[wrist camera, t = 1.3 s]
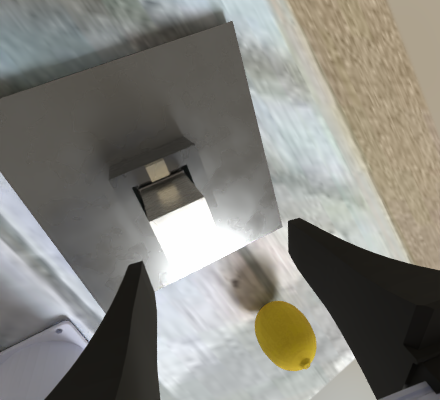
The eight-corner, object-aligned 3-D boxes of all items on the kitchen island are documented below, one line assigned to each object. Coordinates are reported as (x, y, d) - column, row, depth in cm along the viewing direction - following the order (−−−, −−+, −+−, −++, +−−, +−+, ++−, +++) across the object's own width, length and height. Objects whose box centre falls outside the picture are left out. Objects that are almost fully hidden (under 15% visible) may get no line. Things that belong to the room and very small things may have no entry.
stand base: (107, 307, 25) (106, 355, 20) (-36, 111, 17) (-89, 119, 12) (277, 222, 28) (308, 247, 24) (227, 23, 20) (259, 5, 16)
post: (152, 211, 22) (171, 268, 15) (135, 176, 20) (147, 221, 13) (188, 194, 22) (223, 243, 15) (174, 159, 21) (205, 195, 14)
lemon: (239, 328, 32) (274, 395, 25) (248, 288, 30) (289, 348, 23) (279, 322, 34) (322, 382, 27) (290, 284, 32) (340, 338, 25)
